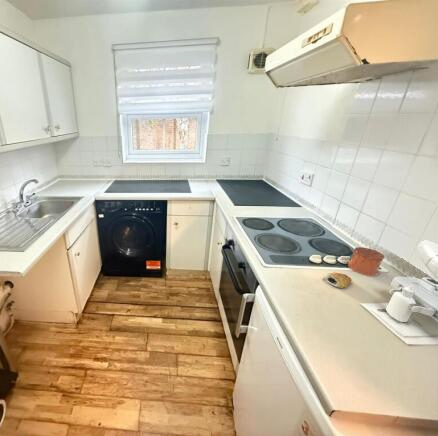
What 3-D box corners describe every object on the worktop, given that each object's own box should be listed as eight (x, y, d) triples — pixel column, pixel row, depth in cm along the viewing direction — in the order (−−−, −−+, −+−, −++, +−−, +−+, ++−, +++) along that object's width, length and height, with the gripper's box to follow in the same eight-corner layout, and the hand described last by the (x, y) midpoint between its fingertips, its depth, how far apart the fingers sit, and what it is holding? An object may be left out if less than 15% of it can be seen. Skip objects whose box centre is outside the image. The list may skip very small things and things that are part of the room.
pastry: (338, 275, 98) (341, 267, 96) (355, 285, 92) (359, 277, 90) (321, 279, 95) (324, 272, 93) (339, 290, 89) (342, 282, 88)
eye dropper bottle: (402, 313, 78) (418, 283, 73) (407, 324, 74) (424, 293, 69) (384, 307, 80) (398, 278, 76) (388, 318, 76) (404, 288, 71)
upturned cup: (372, 265, 104) (379, 250, 101) (381, 278, 96) (389, 261, 93) (345, 260, 108) (351, 245, 105) (351, 272, 100) (357, 255, 97)
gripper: (484, 338, 65) (429, 334, 66) (414, 289, 84) (372, 286, 85) (497, 321, 62) (439, 317, 64) (422, 274, 81) (379, 272, 83)
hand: (400, 299), depth 75 cm, fingers closed on eye dropper bottle, 5 cm apart
